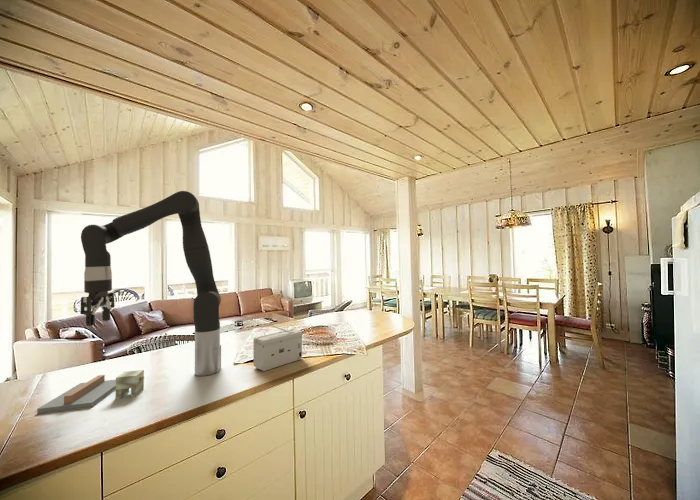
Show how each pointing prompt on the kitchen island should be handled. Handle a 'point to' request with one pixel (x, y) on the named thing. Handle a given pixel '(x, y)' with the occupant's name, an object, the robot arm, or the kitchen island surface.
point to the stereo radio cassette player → (277, 348)
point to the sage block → (129, 383)
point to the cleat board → (81, 396)
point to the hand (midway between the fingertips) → (98, 322)
